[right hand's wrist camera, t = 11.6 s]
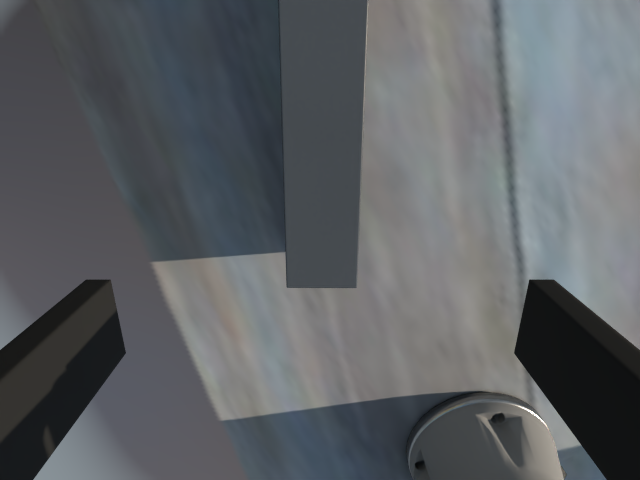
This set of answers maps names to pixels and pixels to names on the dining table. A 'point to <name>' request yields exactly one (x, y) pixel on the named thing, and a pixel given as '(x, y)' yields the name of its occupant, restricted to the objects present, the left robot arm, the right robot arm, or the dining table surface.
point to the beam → (322, 137)
